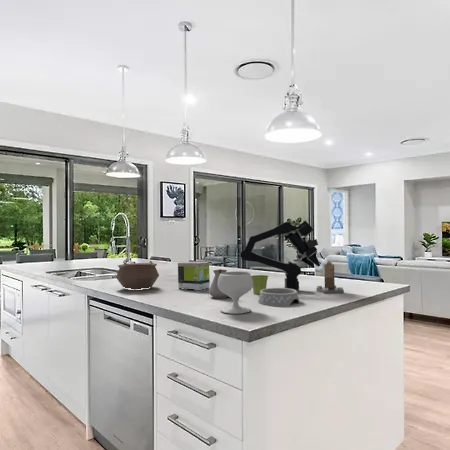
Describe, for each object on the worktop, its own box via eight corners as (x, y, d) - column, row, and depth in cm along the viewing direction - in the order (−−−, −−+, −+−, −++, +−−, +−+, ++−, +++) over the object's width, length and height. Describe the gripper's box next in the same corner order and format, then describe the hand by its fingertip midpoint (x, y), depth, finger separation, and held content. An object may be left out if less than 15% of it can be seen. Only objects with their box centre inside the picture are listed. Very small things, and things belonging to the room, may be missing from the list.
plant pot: (246, 293, 190) (245, 276, 190) (257, 291, 196) (257, 274, 197) (261, 295, 183) (260, 277, 183) (272, 293, 190) (272, 275, 190)
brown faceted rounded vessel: (106, 290, 211) (106, 260, 211) (139, 284, 231) (138, 257, 231) (136, 293, 197) (135, 262, 198) (168, 287, 217) (167, 258, 217)
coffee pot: (209, 295, 187) (208, 265, 188) (232, 294, 187) (231, 264, 188) (207, 303, 166) (206, 269, 166) (233, 303, 166) (233, 268, 166)
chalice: (260, 311, 148) (260, 273, 148) (232, 317, 140) (231, 276, 140) (239, 306, 159) (238, 270, 159) (211, 310, 151) (210, 273, 151)
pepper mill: (331, 289, 187) (330, 261, 187) (322, 288, 190) (322, 261, 190) (336, 288, 190) (335, 261, 190) (328, 287, 194) (327, 260, 194)
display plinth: (324, 293, 185) (324, 288, 185) (316, 290, 194) (316, 285, 194) (343, 292, 186) (343, 287, 186) (334, 289, 196) (334, 284, 196)
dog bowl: (307, 301, 167) (306, 289, 167) (282, 308, 154) (281, 295, 154) (275, 297, 179) (275, 286, 179) (250, 303, 166) (250, 291, 166)
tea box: (210, 288, 210) (209, 261, 210) (199, 291, 202) (199, 263, 202) (188, 286, 218) (188, 261, 218) (177, 289, 210) (177, 262, 210)
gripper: (315, 230, 189) (334, 255, 187) (304, 236, 207) (322, 259, 205) (298, 243, 187) (317, 269, 185) (288, 248, 205) (306, 271, 204)
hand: (316, 266), depth 195 cm, fingers open, 9 cm apart
